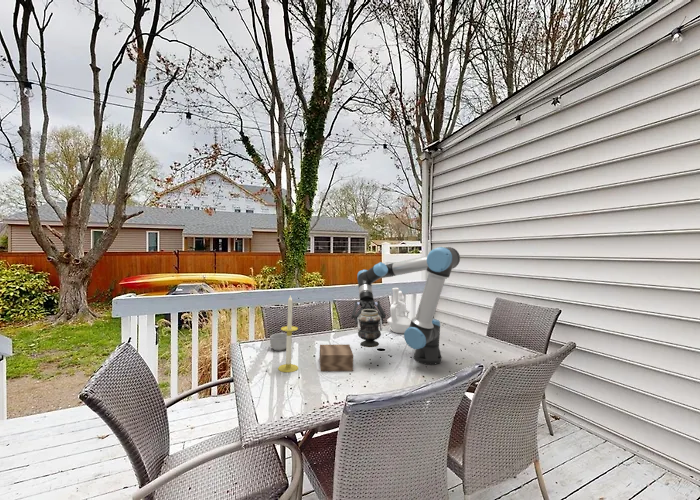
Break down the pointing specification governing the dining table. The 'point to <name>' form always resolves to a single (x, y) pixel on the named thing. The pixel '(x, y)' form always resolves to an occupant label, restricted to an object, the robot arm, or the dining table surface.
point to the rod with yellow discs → (289, 341)
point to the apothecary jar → (369, 327)
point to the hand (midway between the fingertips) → (370, 329)
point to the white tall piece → (398, 313)
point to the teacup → (278, 341)
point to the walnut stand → (336, 358)
